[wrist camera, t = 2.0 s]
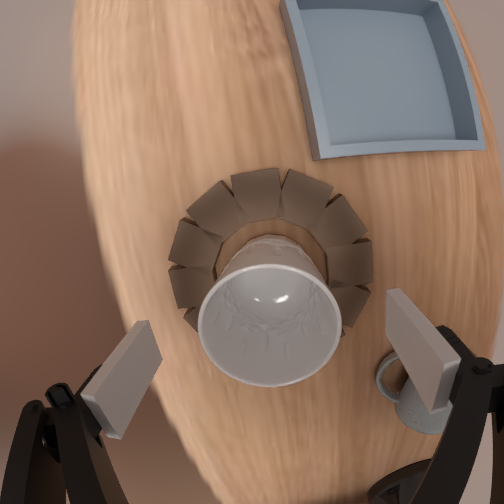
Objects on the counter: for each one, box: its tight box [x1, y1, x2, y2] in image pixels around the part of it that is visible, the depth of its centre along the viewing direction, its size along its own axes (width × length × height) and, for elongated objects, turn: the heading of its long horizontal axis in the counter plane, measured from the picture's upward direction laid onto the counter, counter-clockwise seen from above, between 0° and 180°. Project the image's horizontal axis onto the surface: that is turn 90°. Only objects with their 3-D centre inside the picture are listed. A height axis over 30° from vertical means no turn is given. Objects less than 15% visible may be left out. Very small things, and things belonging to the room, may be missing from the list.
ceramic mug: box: [376, 349, 477, 435], centre depth 23 cm, size 11×8×8 cm
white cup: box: [198, 234, 342, 387], centre depth 20 cm, size 8×8×10 cm
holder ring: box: [168, 168, 373, 338], centre depth 24 cm, size 17×17×1 cm
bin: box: [280, 0, 486, 161], centre depth 18 cm, size 15×15×4 cm
